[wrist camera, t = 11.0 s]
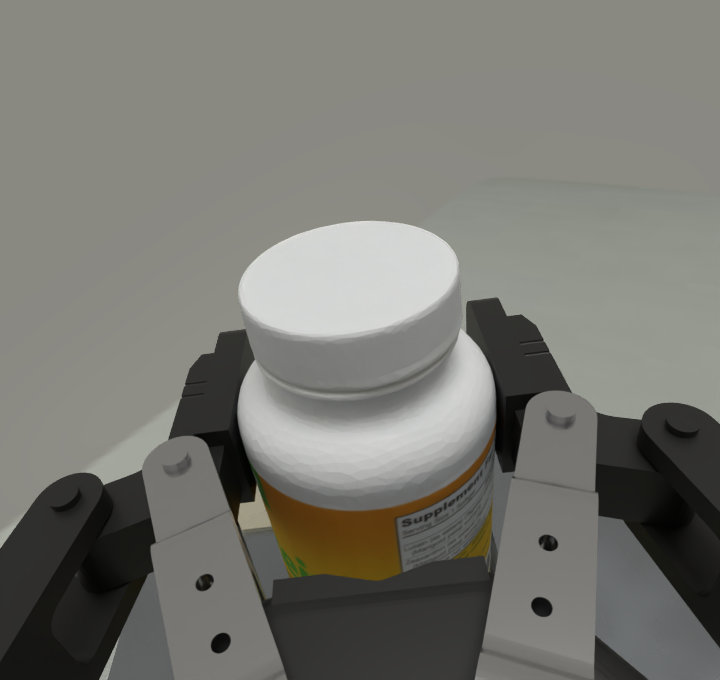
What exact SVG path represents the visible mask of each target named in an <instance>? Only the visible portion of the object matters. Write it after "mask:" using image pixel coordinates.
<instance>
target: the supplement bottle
mask: <svg viewBox="0 0 720 680" xmlns="http://www.w3.org/2000/svg"><path fill="white" fill-rule="evenodd" d="M238 299H239V305H240V309H241V313H242V316H243V320H244V324H245V328H246V332H247V335H248V339H249V343H250V346H251V349H252V351H253V354H254V358H255V360H254V362H253V363H252V365H251V366H250V368H249V370H248V372H247V374H246V376H245V378H244V380H243V383H242V385H241V388H240V393H239V399H238V410H237V418H238V426H239V431H240V435H241V438H242V442H243V445H244V448H245V452H246V455H247V458H248V460H249V463H250V466H251V469H252V472H253V474H254V477H255V480H256V483H257V486H258V489H259V491H260V494H261V497H262V500H263V503H264V506H265V509H266V511H267V514H268V517H269V520H270V523H271V526H272V529H273V532H274V534H275V537H276V540H277V543H278V546H279V549H280V552H281V555H282V558H283V561H284V564H285V567H286V570H287V573H288V575H289V578H294V577H303V576H311V575H320V574H329V575H336V576H343V577H351V578H358V579H365V580H373V581H380V580H384V579H387V578H390V577H392V576H395V575H398V574H400V573H403V572H406V571H408V570H411V569H414V568H416V567H419V566H421V565H424V564H427V563H429V562H433V561H441V560H450V559H459V558H468V557H476V556H484V557H485V561H486V565H487V569H488V572H490V561H491V534H492V506H493V489H494V458H495V439H496V418H497V416H496V390H495V383H494V378H493V374H492V371H491V367H490V365H489V363H488V361H487V360H486V358H485V356H484V354H483V352H482V351H481V349H480V348H479V346H478V345H477V344H476V343H475V342H474V341H473V340H472V339H471V338H470V337H469V336H468V335H467V334H466V333H465V332H464V331H463V330H462V329H460V327H461V323H462V318H463V315H462V305H461V284H460V269H459V263H458V260H457V257H456V255H455V253H454V251H453V250H452V249H451V247H450V246H449V245H448V244H447V243H446V242H445V241H444V240H442V239H441V238H440V237H438V236H436V235H434V234H433V233H431V232H428V231H426V230H423V229H421V228H418V227H415V226H410V225H406V224H401V223H393V222H381V221H358V222H348V223H339V224H335V225H330V226H325V227H320V228H316V229H313V230H310V231H307V232H303V233H300V234H297V235H295V236H292V237H290V238H288V239H286V240H284V241H282V242H280V243H278V244H276V245H275V246H273V247H271V248H270V249H268V250H267V251H265V252H264V253H262V254H261V255H260V256H259V257H258V258H256V259H255V260H254V262H252V263H251V264H250V266H249V267H248V268H247V269H246V271H245V273H244V275H243V276H242V279H241V281H240V285H239V290H238Z"/></svg>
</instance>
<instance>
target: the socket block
mask: <svg viewBox="0 0 720 680" xmlns="http://www.w3.org/2000/svg"><path fill="white" fill-rule="evenodd" d="M514 474H515V472H507V473H502V470H501V467H500V464H499V461H498V458H497V455H496V452H495V458H494V489H493V506H492V534H491V561H490V565H491V569H492V573H495V570H496V565H497V559H498V553H499V547H500V542H501V536H502V530H503V524H504V519H505V513H506V507H507V501H508V496H509V490H510V484H511V480H512V476H514ZM238 521H239V524H240V526H241V529H242V532H243V535H244V538H245V540H246V543H247V546H248V549H249V552H250V554H251V557H252V560H253V563H254V566H255V568H256V571H257V574H258V577H259V579H260V582H261V585H262V588H263V591H264V593H265V596H266V598H267V599H268V598H271V597H272V590H273V580H277V579H285V578H289V575H288V573H287V570H286V567H285V564H284V561H283V558H282V555H281V552H280V549H279V546H278V543H277V540H276V537H275V534H274V532H273V529H272V526H271V523H270V520H269V517H268V514H267V511H266V509H265V506H264V503H263V500H262V497H261V494H260V491H259V489H258V486H257V487H256V495H255V502H248V503H240V508H239V515H238ZM595 635H596V636H597V637H598V638H600V639H601V640H602V641H603V642H604V643H605V644H607V645H608V646H609V647H610V648H611V649H613V650H614V651H615V652H616V653H617V654H619V655H620V656H621V657H622V658H623V659H625V660H626V661H627V662H628V663H629V664H631V665H632V666H633V667H634V668H635V669H637V670H638V671H639V672H640V673H641V674H643V675H644V676H645V677H646V678H647V679H648V680H720V648H719V647H718V645H717V644H716V643H715V641H714V640H713V639H712V638H711V636H710V635H709V634H708V632H707V631H706V630H705V628H704V627H703V626H702V624H701V623H700V622H699V620H698V619H697V618H696V616H695V615H694V614H693V612H692V611H691V610H690V609H689V607H688V606H687V605H686V603H685V602H684V601H683V599H682V598H681V597H680V595H679V594H678V593H677V591H676V590H675V589H674V587H673V586H672V585H671V583H670V582H669V581H668V580H667V578H666V577H665V576H664V574H663V573H662V572H661V570H660V569H659V568H658V566H657V565H656V564H655V562H654V561H653V560H652V558H651V557H650V556H649V554H648V553H647V552H646V551H645V549H644V548H643V547H642V545H641V544H640V543H639V541H638V540H637V539H636V537H635V536H634V535H633V533H632V532H631V531H630V529H629V528H628V527H627V525H626V524H625V523H624V521H623V520H620V519H614V518H608V517H602V516H598V540H597V577H596V614H595ZM108 680H175V679H174V674H173V669H172V663H171V658H170V653H169V647H168V642H167V637H166V631H165V626H164V621H163V616H162V610H161V605H160V600H159V594H158V589H157V584H156V578H155V573H154V572H152V573H150V574H148V576H147V578H146V580H145V583H144V585H143V587H142V589H141V591H140V593H139V595H138V597H137V600H136V602H135V604H134V606H133V608H132V610H131V612H130V615H129V617H128V619H127V621H126V623H125V625H124V627H123V629H122V632H121V634H120V638H119V641H118V645H117V648H116V652H115V656H114V659H113V663H112V666H111V670H110V673H109V677H108Z"/></svg>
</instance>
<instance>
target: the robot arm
mask: <svg viewBox="0 0 720 680" xmlns="http://www.w3.org/2000/svg"><path fill="white" fill-rule="evenodd" d="M466 334H467V335H468V336H469V337H470V338H471V339H472V340H473V341H474V342H475V343H476V344H477V345H478V346H479V348H480V349H481V351H482V352H483V354H484V356H485V358H486V360H487V361H488V363H489V365H490V367H491V371H492V374H493V378H494V383H495V390H496V416H497V418H496V439H495V452H496V455H497V458H498V461H499V464H500V467H501V470H502V473H507V472H515V474H514V476H512V480H511V484H510V490H509V496H508V501H507V507H506V513H505V519H504V524H503V530H502V536H501V542H500V547H499V553H498V559H497V565H496V570H495V573H492V572H488V569H487V565H486V561H485V557H484V556H476V557H468V558H459V559H450V560H441V561H433V562H429V563H427V564H424V565H421V566H419V567H416V568H414V569H411V570H408V571H406V572H403V573H400V574H398V575H395V576H392V577H390V578H387V579H384V580H380V581H373V580H365V579H358V578H351V577H343V576H336V575H329V574H320V575H311V576H303V577H294V578H285V579H277V580H273V590H272V597H271V598H268V599H267V598H266V596H265V593H264V591H263V588H262V585H261V582H260V579H259V577H258V574H257V571H256V568H255V566H254V563H253V560H252V557H251V554H250V552H249V549H248V546H247V543H246V540H245V538H244V535H243V532H242V529H241V526H240V524H239V521H238V515H239V508H240V503H248V502H255V495H256V487H257V483H256V480H255V477H254V474H253V472H252V469H251V466H250V463H249V460H248V458H247V455H246V452H245V448H244V445H243V442H242V438H241V435H240V431H239V426H238V418H237V410H238V399H239V393H240V388H241V385H242V383H243V380H244V378H245V376H246V374H247V372H248V370H249V368H250V366H251V365H252V363H253V362H254V360H255V358H254V354H253V351H252V349H251V346H250V343H249V339H248V335H247V332H246V329H244V330H236V331H228V332H221V333H220V334H219V336H218V340H217V344H216V348H215V352H214V353H211V354H203V355H201V356H200V357H199V359H198V360H197V361H196V362H195V363H194V364H193V366H192V367H191V368H190V370H189V373H188V376H187V379H186V383H185V385H186V386H185V387H184V390H183V393H182V399H180V403H179V406H178V409H177V412H176V416H175V419H174V422H173V426H172V429H171V432H170V436H169V439H168V441H166V442H164V443H162V444H160V445H159V446H157V447H156V448H155V449H154V450H153V451H152V452H151V453H150V454H149V455H148V456H147V458H146V460H145V461H144V464H143V468H142V470H141V471H139V472H137V473H134V474H132V475H129V476H127V477H124V478H121V479H119V480H116V481H113V482H111V483H108V484H105V485H103V483H102V482H101V480H100V479H99V478H98V477H97V476H96V475H94V474H91V473H76V474H72V475H69V476H66V477H63V478H61V479H59V480H57V481H56V482H54V483H52V484H51V485H50V486H48V487H47V488H46V489H45V490H44V491H43V492H42V493H41V494H40V495H39V496H38V497H37V498H36V500H35V501H34V503H33V504H32V505H31V507H30V508H29V510H28V511H27V512H26V514H25V515H24V516H23V518H22V519H21V521H20V522H19V523H18V525H17V526H16V528H15V529H14V530H13V532H12V533H11V535H10V536H9V537H8V539H7V540H6V542H5V543H4V544H3V546H2V547H1V548H0V680H99V678H100V676H101V674H102V672H103V670H104V668H105V666H106V664H107V661H108V659H109V657H110V655H111V653H112V651H113V649H114V647H115V644H116V642H117V640H118V638H119V636H120V634H121V632H122V629H123V627H124V625H125V623H126V621H127V619H128V617H129V615H130V612H131V610H132V608H133V606H134V604H135V602H136V600H137V597H138V595H139V593H140V591H141V589H142V587H143V585H144V583H145V580H146V578H147V576H148V574H150V573H152V572H154V573H155V578H156V584H157V589H158V594H159V600H160V605H161V610H162V616H163V621H164V626H165V631H166V637H167V642H168V647H169V653H170V658H171V663H172V669H173V674H174V679H175V680H648V679H647V678H646V677H645V676H644V675H643V674H641V673H640V672H639V671H638V670H637V669H635V668H634V667H633V666H632V665H631V664H629V663H628V662H627V661H626V660H625V659H623V658H622V657H621V656H620V655H619V654H617V653H616V652H615V651H614V650H613V649H611V648H610V647H609V646H608V645H607V644H605V643H604V642H603V641H602V640H601V639H600V638H598V637H597V636H596V635H595V614H596V577H597V540H598V516H602V517H608V518H614V519H620V520H623V521H624V523H625V524H626V525H627V527H628V528H629V529H630V531H631V532H632V533H633V535H634V536H635V537H636V539H637V540H638V541H639V543H640V544H641V545H642V547H643V548H644V549H645V551H646V552H647V553H648V554H649V556H650V557H651V558H652V560H653V561H654V562H655V564H656V565H657V566H658V568H659V569H660V570H661V572H662V573H663V574H664V576H665V577H666V578H667V580H668V581H669V582H670V583H671V585H672V586H673V587H674V589H675V590H676V591H677V593H678V594H679V595H680V597H681V598H682V599H683V601H684V602H685V603H686V605H687V606H688V607H689V609H690V610H691V611H692V612H693V614H694V615H695V616H696V618H697V619H698V620H699V622H700V623H701V624H702V626H703V627H704V628H705V630H706V631H707V632H708V634H709V635H710V636H711V638H712V639H713V640H714V641H715V643H716V644H717V645H718V647H719V648H720V424H719V423H718V422H717V421H716V420H715V419H713V418H712V417H711V416H710V415H708V414H707V413H705V412H704V411H702V410H700V409H697V408H695V407H692V406H689V405H685V404H680V403H661V404H657V405H654V406H652V407H650V408H649V409H648V410H646V411H645V413H644V414H643V417H642V420H638V419H629V418H620V417H613V416H607V415H603V414H600V413H597V412H596V411H595V409H594V407H593V406H592V405H591V404H590V403H589V402H588V401H587V400H586V399H584V398H582V397H581V396H578V395H576V394H573V393H572V392H571V390H570V388H569V386H568V385H567V383H566V381H565V379H564V377H563V375H562V373H561V371H560V369H559V368H558V366H557V364H556V362H555V360H554V358H553V356H552V354H551V353H550V352H549V349H548V347H547V345H546V343H545V342H544V341H543V338H542V336H541V334H540V332H539V330H538V328H537V326H536V325H535V324H533V323H532V322H531V321H529V320H528V319H527V318H525V317H524V316H523V315H514V316H506V314H505V311H504V309H503V307H502V305H501V303H500V301H499V299H498V298H489V299H482V300H474V301H468V302H467V306H466Z"/></svg>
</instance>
